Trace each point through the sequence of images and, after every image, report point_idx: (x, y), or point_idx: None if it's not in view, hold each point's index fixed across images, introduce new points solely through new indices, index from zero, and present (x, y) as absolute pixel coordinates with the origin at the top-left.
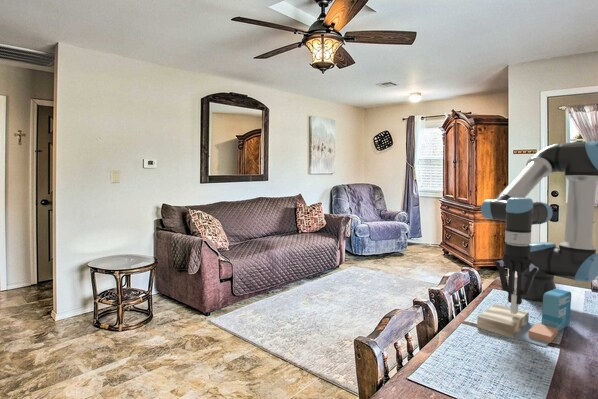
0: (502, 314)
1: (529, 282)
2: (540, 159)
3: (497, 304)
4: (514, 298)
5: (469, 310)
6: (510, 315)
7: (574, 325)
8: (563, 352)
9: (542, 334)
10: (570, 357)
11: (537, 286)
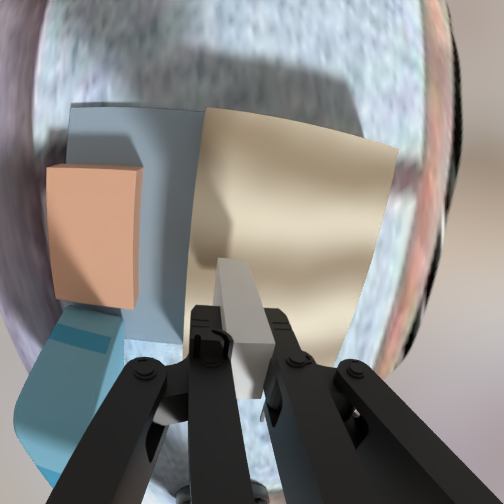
0: (289, 262)
1: (70, 486)
2: None
3: None
4: (240, 321)
5: (397, 319)
6: None
7: None
8: (22, 115)
9: (76, 168)
10: (6, 90)
11: None
